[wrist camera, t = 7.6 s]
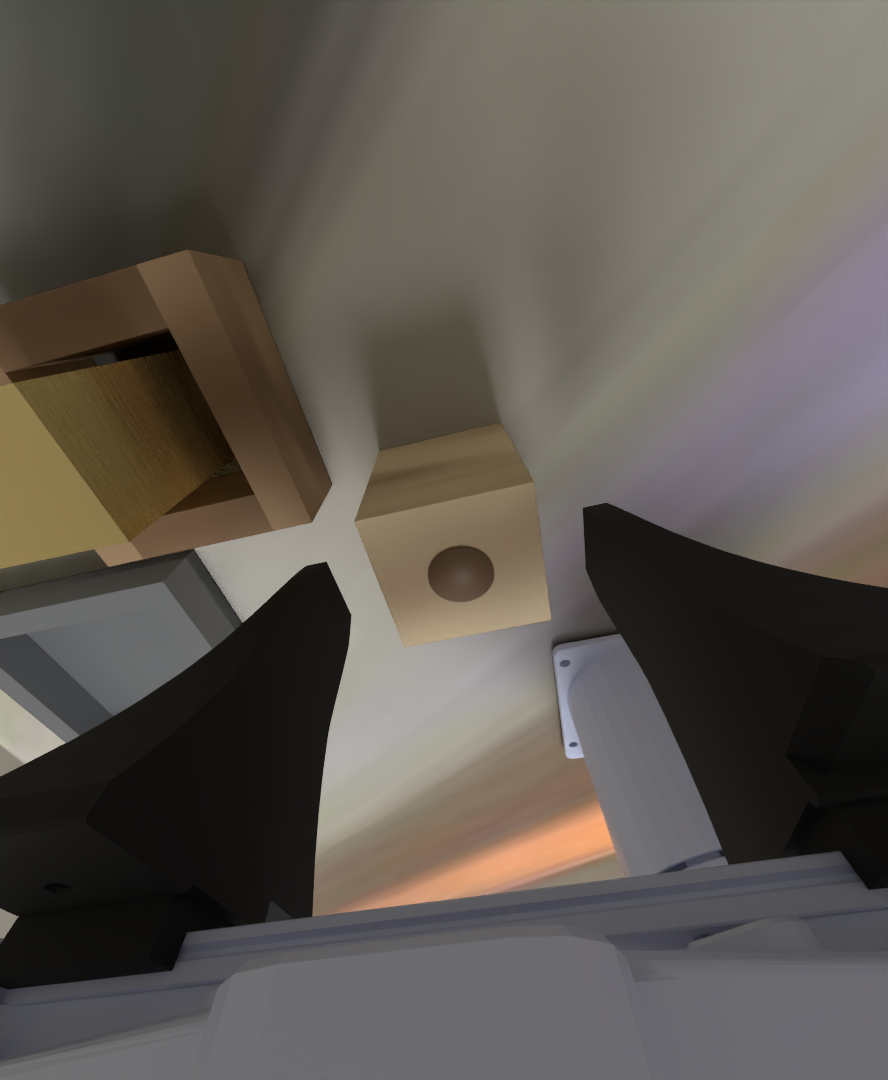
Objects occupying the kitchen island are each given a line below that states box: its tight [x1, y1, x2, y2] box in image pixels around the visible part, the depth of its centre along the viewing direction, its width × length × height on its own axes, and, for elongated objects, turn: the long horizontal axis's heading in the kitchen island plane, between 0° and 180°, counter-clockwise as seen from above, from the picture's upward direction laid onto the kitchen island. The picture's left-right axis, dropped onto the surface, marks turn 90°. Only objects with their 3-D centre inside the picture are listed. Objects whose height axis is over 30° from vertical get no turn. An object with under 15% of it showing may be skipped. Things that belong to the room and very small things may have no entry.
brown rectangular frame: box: [0, 249, 332, 567], centre depth 12 cm, size 7×7×3 cm
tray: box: [0, 550, 242, 743], centre depth 19 cm, size 10×10×2 cm
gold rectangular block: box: [0, 350, 235, 569], centre depth 11 cm, size 3×3×7 cm
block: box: [354, 422, 551, 647], centre depth 13 cm, size 4×4×6 cm
